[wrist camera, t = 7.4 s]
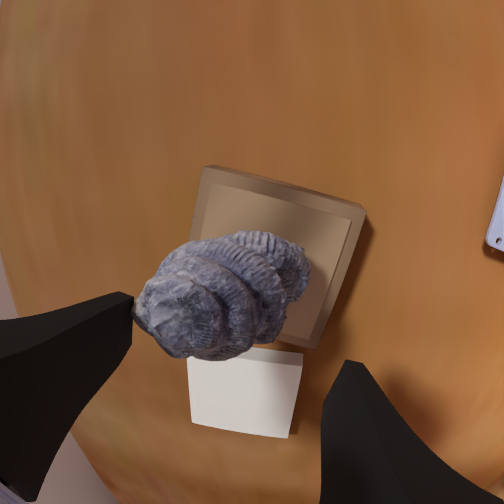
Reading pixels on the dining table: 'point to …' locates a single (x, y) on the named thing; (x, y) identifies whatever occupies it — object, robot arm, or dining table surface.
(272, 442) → the dining table surface
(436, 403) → the dining table surface
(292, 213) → the walnut base
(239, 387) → the ceramic tile
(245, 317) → the seashell
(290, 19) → the dining table surface
